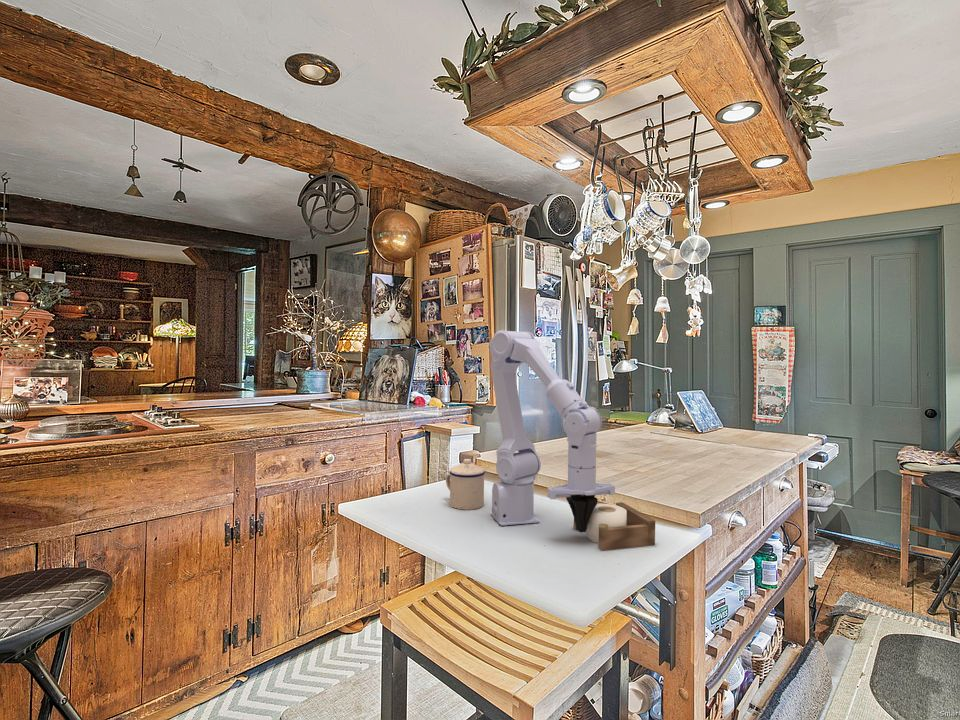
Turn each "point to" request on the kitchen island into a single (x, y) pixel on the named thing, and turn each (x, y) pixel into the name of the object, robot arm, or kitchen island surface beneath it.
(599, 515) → the roll
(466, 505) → the teacup with lid
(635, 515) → the holder
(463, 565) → the kitchen island surface
